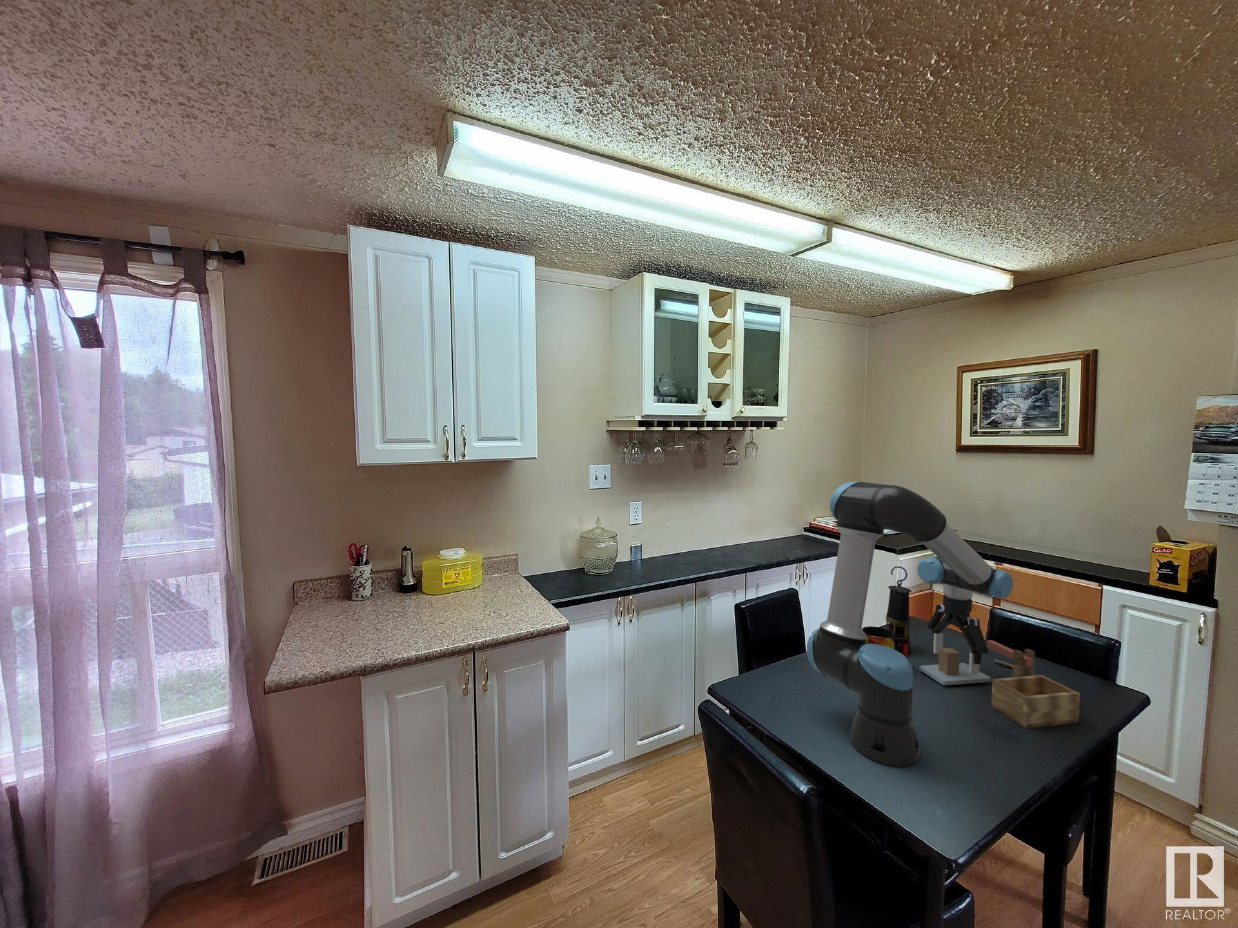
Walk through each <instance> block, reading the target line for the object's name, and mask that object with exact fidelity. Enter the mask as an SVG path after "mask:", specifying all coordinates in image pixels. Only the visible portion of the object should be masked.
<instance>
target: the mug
mask: <svg viewBox="0 0 1238 928" xmlns="http://www.w3.org/2000/svg"><path fill="white" fill-rule="evenodd" d="M862 631H863V632H864V633H865V635H866V636H867V638H866V644H878V645H881V646H883V647H884V646H886V647H889V648H892V649H894V644H904V647H903V655H904V656H905V657H906V658H907V659H908V660H909V655H908V638H895V635H894V633H893V632H891V631H890V630H889V629H888V628H887V629H886V628H883V627H881V626H872V625H871V626H862Z"/></svg>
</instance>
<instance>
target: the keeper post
mask: <svg viewBox="0 0 1238 928" xmlns="http://www.w3.org/2000/svg"><path fill="white" fill-rule="evenodd" d="M1012 650H1013V660H1012V665H1013V668H1012V677H1024V676H1034V674H1035V662H1036V660H1035V659H1036V658H1035V657H1036V651H1034V650H1031V649H1030V648H1024V652H1023V651H1020V650H1018V649H1012ZM1024 655H1025V656H1027V657H1029V658H1032V659H1033V666H1025V665H1023V657H1024ZM1012 677H1011V678H1012Z"/></svg>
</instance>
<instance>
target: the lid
mask: <svg viewBox="0 0 1238 928" xmlns="http://www.w3.org/2000/svg"><path fill="white" fill-rule="evenodd" d="M918 669H919V671H921V672H923V674H925V675H927V676H929V677H930V678H931V679H933V680H934V681H935V682H938V683H939V684H940V685H942V686H952V685H954V686H955V685H967V684H977V683H978V684H979V683H980V684H981V683H992V678H991V677H990V676H988V675H986V674H985V673H983V672H981V671H980V670H979V673H977V674H970V673H969V664H967V663H965V662H960V652H959V651H958V650H955V649H954V648H952V647H943V648H939V654H938V664H928V665H919V666H918Z"/></svg>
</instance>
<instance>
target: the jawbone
mask: <svg viewBox="0 0 1238 928" xmlns="http://www.w3.org/2000/svg"><path fill="white" fill-rule="evenodd" d="M993 660H994V661H995V662H997V663H1000V664H1003V666H1004V667H1010V668H1012V669H1013V664H1011V663H1008V662H1006V661H1005V660H1004V661H1002V660H1000V659H999V660H998V659H993ZM1035 675H1036V673H1034V676H1035Z"/></svg>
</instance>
